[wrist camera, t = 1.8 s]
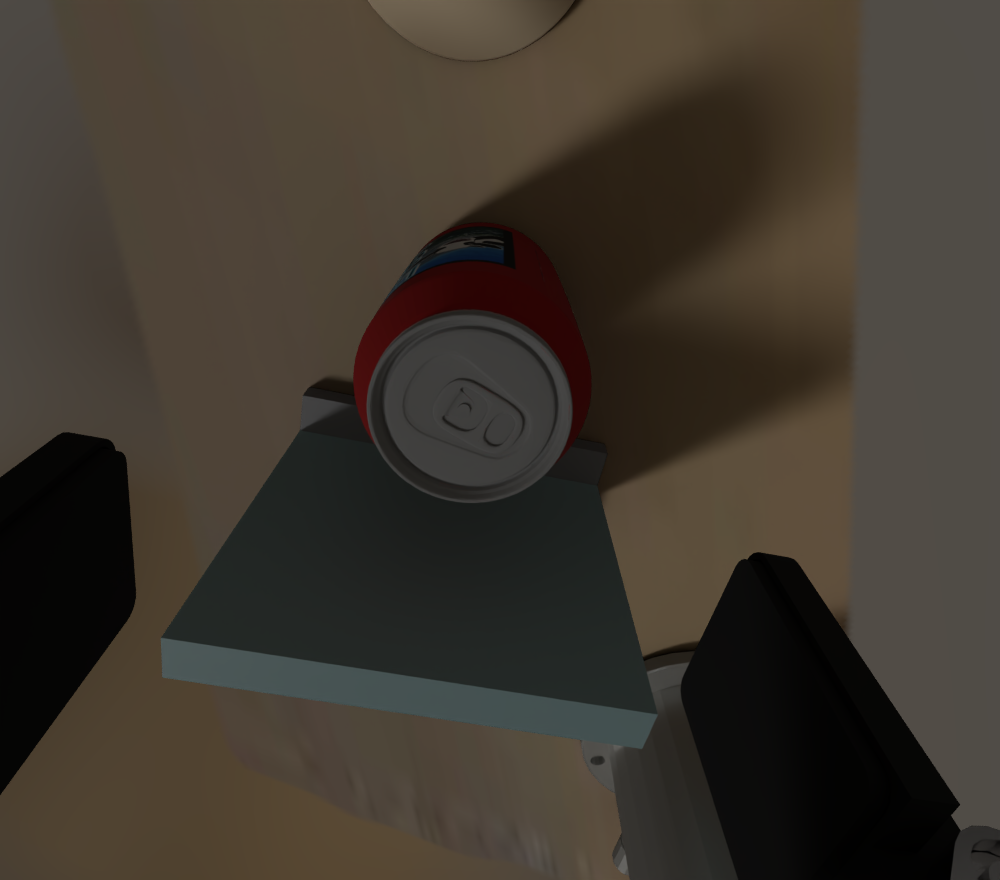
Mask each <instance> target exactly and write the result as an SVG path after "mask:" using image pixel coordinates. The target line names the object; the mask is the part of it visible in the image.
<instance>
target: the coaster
mask: <svg viewBox="0 0 1000 880" xmlns="http://www.w3.org/2000/svg"><path fill="white" fill-rule="evenodd" d="M368 1H369V3H370V4H371V6H372V7H373V8H374V9H375V10H376V12H377V13H378V14H379V15H380V16H381V17H382V18H383V19H384V21H385V22H386V23H387V24H388V25H390V26H391V27H392V28H393V29H394V30H395V31H396V32H398V33H399V34H400V35H401V36H402V37H404V38H405V39H407V40H408V41H410V42H411V43H413V44H414V45H416V46H417V47H419V48H421V49H423V50H425V51H427V52H430V53H432V54H435V55H438V56H441V57H444V58H447V59H453V60H459V61H487V60H494V59H498V58H501V57H505V56H508V55H511V54H513V53H516V52H518V51H520V50H522V49H524V48H526V47H528V46H529V45H531V44H532V43H534V42H535V41H537V40H538V39H540V38H541V37H542V36H544V35H545V34H546V33H547V32H548V31H549V30H551V29H552V28H553V27H554V26H555V25H556V24H557V23H558V21H559V20H560V19H561V18H562V17H563V16H564V15H565V14H566V12H567V11H568V10H569V8H570V7H571V5H572V4H573V2H574V1H575V0H368Z"/></svg>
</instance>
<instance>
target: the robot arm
mask: <svg viewBox="0 0 1000 880" xmlns="http://www.w3.org/2000/svg"><path fill="white" fill-rule="evenodd" d="M135 599H136V587H135V573H134V559H133V544H132V531H131V517H130V503H129V490H128V475H127V462H126V457H125V455H124V454H123V453H122V452H119V451H116V450H115V446H114V445H113V443H112V442H111V441H110V440H108V439H104V438H98V437H92V436H86V435H81V434H75V433H69V432H66V433H61V434H59V435H57V436H56V437H55V438H53V439H52V440H51V441H49V442H48V443H47V444H45V445H44V446H43V447H41V448H40V449H38V450H37V451H36V452H34V453H33V454H31V455H30V456H29V457H27V458H26V459H25V460H23V461H22V462H21V463H19V464H18V465H17V466H15V467H14V468H12V469H11V470H10V471H8V472H7V473H6V474H4V475H3V476H1V477H0V795H1V793H2V792H3V790H4V789H5V788H6V786H7V785H8V784H9V782H10V781H11V779H12V778H13V777H14V775H15V774H16V772H17V771H18V770H19V768H20V767H21V766H22V764H23V763H24V762H25V760H26V759H27V757H28V756H29V755H30V753H31V752H32V751H33V749H34V748H35V746H36V745H37V744H38V742H39V741H40V740H41V738H42V737H43V736H44V734H45V733H46V731H47V730H48V729H49V727H50V726H51V725H52V723H53V722H54V720H55V719H56V718H57V716H58V715H59V713H60V712H61V711H62V709H63V708H64V707H65V705H66V704H67V702H68V701H69V700H70V698H71V697H72V696H73V694H74V693H75V692H76V690H77V689H78V687H79V686H80V685H81V683H82V682H83V680H84V679H85V678H86V676H87V675H88V674H89V672H90V671H91V670H92V668H93V667H94V665H95V664H96V663H97V661H98V660H99V659H100V657H101V656H102V654H103V653H104V652H105V650H106V649H107V648H108V646H109V645H110V644H111V642H112V641H113V639H114V638H115V637H116V635H117V634H118V632H119V631H120V630H121V628H122V627H123V626H124V624H125V623H126V622H127V620H128V618H129V617H130V615H131V613H132V610H133V607H134V604H135ZM644 664H645V668H646V671H647V675H648V679H649V683H650V686H651V690H652V694H653V698H654V702H655V705H656V709H657V713H658V716H657V718H656V720H655V722H654V724H653V726H652V729H651V731H650V733H649V735H648V737H647V740H646V742H645V744H644V746H643V748H642V749H639V748H632V747H625V746H619V745H612V744H605V743H599V742H592V741H585V740H580V741H581V747H582V752H583V758H584V761H585V763H586V765H587V767H588V769H589V771H590V772H591V773H592V774H593V776H594V777H595V778H596V779H597V780H598V782H600V783H601V784H602V785H603V786H605V787H606V788H607V789H609V790H610V791H612V792H614V793H615V795H616V801H617V807H618V813H619V819H620V825H621V831H622V833H621V835H620V837H619V839H618V842H617V844H616V846H615V848H614V850H613V853H612V856H613V862H614V864H615V865H616V867H617V869H618V870H619V871H621V872H622V873H623V874H625V875H629V878H630V880H1000V830H997V829H994V828H991V827H988V826H970V827H968V828H966V829H964V830H962V831H961V830H960V829H959V827H958V826H957V824H956V823H955V821H954V820H953V818H952V817H951V814H953V812H954V811H955V810H956V809H957V808H958V807H959V806H960V804H959V802H958V801H957V799H956V798H955V796H954V795H953V793H952V792H951V790H950V789H949V788H948V786H947V785H946V783H945V782H944V780H943V779H942V777H941V776H940V774H939V773H938V771H937V770H936V768H935V767H934V765H933V764H932V762H931V761H930V759H929V758H928V756H927V755H926V753H925V752H924V750H923V749H922V747H921V746H920V744H919V743H918V741H917V740H916V738H915V737H914V735H913V734H912V732H911V731H910V729H909V728H908V726H907V725H906V723H905V722H904V720H903V719H902V717H901V716H900V714H899V713H898V711H897V710H896V708H895V707H894V706H893V704H892V703H891V701H890V700H889V698H888V697H887V695H886V694H885V692H884V691H883V689H882V688H881V686H880V685H879V683H878V682H877V680H876V679H875V677H874V676H873V674H872V673H871V671H870V670H869V668H868V667H867V665H866V664H865V662H864V661H863V659H862V658H861V656H860V655H859V653H858V652H857V650H856V649H855V647H854V646H853V644H852V643H851V641H850V640H849V638H848V637H847V635H846V634H845V632H844V631H843V629H842V628H841V626H840V625H839V623H838V622H837V621H836V619H835V618H834V616H833V615H832V613H831V612H830V610H829V609H828V607H827V606H826V604H825V603H824V601H823V600H822V598H821V597H820V595H819V594H818V592H817V591H816V589H815V588H814V586H813V585H812V583H811V582H810V580H809V579H808V577H807V576H806V574H805V573H804V571H803V570H802V568H801V567H800V565H799V564H798V563H797V562H796V561H795V560H794V559H792V558H789V557H783V556H777V555H772V554H766V553H760V552H757V553H753V554H752V555H751V556H750V557H749V558H748V560H747V559H743V560H741V561H739V562H738V564H737V565H736V567H735V569H734V571H733V573H732V575H731V578H730V580H729V582H728V584H727V586H726V588H725V590H724V592H723V594H722V596H721V598H720V600H719V602H718V605H717V607H716V609H715V611H714V613H713V615H712V617H711V619H710V621H709V623H708V625H707V627H706V629H705V632H704V634H703V636H702V638H701V640H700V642H699V644H698V646H697V648H696V650H695V651H690V652H679V653H671V654H667V655H662V656H658V657H654V658H651V659H648V660H645V661H644Z"/></svg>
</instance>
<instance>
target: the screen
mask: <svg viewBox="0 0 1000 880" xmlns="http://www.w3.org/2000/svg"><path fill="white" fill-rule="evenodd" d="M607 454H608V453H607V450H606V447H605V444H602V443H597V442H591V441H586V440H581V439H575V441H574V443H573V444H572V445H571V447H570V448H569V450H568V451H567V452H566V453H565V454H564V456H563V457H562V458H561V459H560V460H559V461H558V462H557V463H556V464H554V465H553V466H552V467H551V469H550V470H549V471H548V472H547V473H546V474H545V475H544V476H543V477H542V478H540V479H539V480H538V481H537V482H535V483H534V484H533V485H531V486H530V487H528V488H526V489H524V490H523V491H521V492H519V493H517V494H514V495H512V496H509V497H506V498H503V499H499V500H495V501H489V502H481V503H463V502H455V501H449V500H445V499H441V498H438V497H435V496H432V495H430V494H427V493H425V492H423V491H421V490H419V489H417V488H415V487H414V486H412V485H411V484H409V483H408V482H406V481H405V480H404V479H402V478H401V477H400V476H399V475H398V474H397V473H396V472H395V471H393V469H392V468H391V467H390V466H389V465H388V464H387V462H386V461H385V460H384V458H383V457H382V455H381V454H380V452H379V450H378V448H377V447H376V445H375V444H374V442H373V441H372V439H371V438H370V436H369V435H368V433H367V431H366V429H365V427H364V425H363V422H362V420H361V417H360V415H359V412H358V408H357V405H356V400H355V396H353V395H348V394H342V393H337V392H332V391H327V390H322V389H316V388H311V387H309V388H308V389H307V391H306V392H305V393H304V395H303V401H302V414H301V427H300V431H299V433H298V434H297V436H296V437H295V439H294V440H293V442H292V443H291V445H290V446H289V448H288V449H287V451H286V452H285V454H284V455H283V457H282V458H281V460H280V461H279V463H278V464H277V466H276V467H275V469H274V470H273V472H272V473H271V475H270V476H269V478H268V479H267V481H266V482H265V484H264V485H263V487H262V488H261V490H260V491H259V493H258V494H257V496H256V497H255V498H254V500H253V501H252V503H251V504H250V506H249V507H248V509H247V510H246V512H245V513H244V515H243V516H242V518H241V519H240V521H239V522H238V524H237V525H236V527H235V528H234V530H233V531H232V533H231V534H230V536H229V537H228V539H227V540H226V542H225V543H224V545H223V546H222V548H221V549H220V551H219V552H218V554H217V555H216V557H215V558H214V560H213V561H212V563H211V564H210V566H209V567H208V569H207V570H206V572H205V573H204V575H203V576H202V577H201V579H200V580H199V582H198V583H197V585H196V586H195V588H194V590H193V591H192V592H191V594H190V595H189V597H188V599H187V600H186V602H185V603H184V605H183V606H182V607H181V609H180V610H179V612H178V613H177V615H176V616H175V618H174V619H173V621H172V622H171V624H170V625H169V627H168V628H167V630H166V631H165V633H164V634H163V636H162V637H161V650H162V676H163V678H169V679H177V680H183V681H190V682H196V683H203V684H210V685H216V686H223V687H230V688H236V689H243V690H250V691H257V692H263V693H270V694H277V695H283V696H290V697H297V698H304V699H310V700H317V701H324V702H330V703H337V704H344V705H350V706H357V707H364V708H371V709H377V710H384V711H391V712H397V713H404V714H411V715H418V716H424V717H431V718H438V719H444V720H451V721H458V722H464V723H471V724H478V725H485V726H491V727H498V728H505V729H511V730H518V731H525V732H532V733H538V734H545V735H552V736H558V737H565V738H572V739H578V740H585V741H592V742H599V743H605V744H612V745H619V746H625V747H632V748H639V749H642V748H643V746H644V744H645V742H646V740H647V737H648V735H649V733H650V731H651V729H652V726H653V724H654V722H655V720H656V718H657V716H658V713H657V709H656V705H655V702H654V698H653V694H652V690H651V686H650V683H649V679H648V675H647V671H646V668H645V664H644V660H643V656H642V653H641V649H640V645H639V641H638V637H637V634H636V630H635V626H634V622H633V619H632V615H631V611H630V607H629V603H628V600H627V596H626V592H625V588H624V585H623V581H622V577H621V573H620V570H619V566H618V562H617V558H616V554H615V551H614V547H613V543H612V539H611V536H610V532H609V528H608V524H607V520H606V517H605V513H604V509H603V505H602V502H601V498H600V494H599V490H598V487H597V485H598V482H599V479H600V476H601V473H602V470H603V467H604V463H605V460H606V457H607Z"/></svg>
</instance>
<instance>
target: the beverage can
mask: <svg viewBox="0 0 1000 880" xmlns="http://www.w3.org/2000/svg"><path fill="white" fill-rule="evenodd" d="M353 381H354V394H355V400H356V405H357V408H358V412H359V415H360V417H361V420H362V422H363V425H364V427H365V429H366V431H367V433H368V435H369V436H370V438H371V439H372V441H373V442H374V444H375V445H376V447H377V448H378V450H379V452H380V454H381V455H382V457H383V458H384V460H385V461H386V462H387V464H388V465H389V466H390V467H391V468H392V469H393V471H395V472H396V473H397V474H398V475H399V476H400V477H401V478H402V479H404V480H405V481H406V482H408V483H409V484H411V485H412V486H414V487H415V488H417V489H419V490H421V491H423V492H425V493H427V494H430V495H432V496H435V497H438V498H441V499H445V500H449V501H455V502H463V503H481V502H489V501H495V500H499V499H503V498H506V497H509V496H512V495H514V494H517V493H519V492H521V491H523V490H524V489H526V488H528V487H530V486H531V485H533V484H534V483H535V482H537V481H538V480H539V479H540V478H542V477H543V476H544V475H545V474H546V473H547V472H548V471H549V470H550V469H551V467H552V466H553V465H554V464H556V463H557V462H558V461H559V460H560V459H561V458H562V457H563V456H564V454H565V453H566V452H567V451H568V450H569V448H570V447H571V445H572V444H573V443H574V441H575V439H576V438H577V436H578V434H579V433H580V430H581V428H582V426H583V424H584V421H585V419H586V416H587V412H588V409H589V404H590V398H591V370H590V364H589V360H588V356H587V353H586V349H585V346H584V343H583V340H582V337H581V335H580V332H579V329H578V326H577V323H576V320H575V317H574V315H573V312H572V309H571V307H570V304H569V301H568V299H567V297H566V294H565V292H564V289H563V287H562V284H561V282H560V280H559V277H558V275H557V273H556V271H555V269H554V267H553V265H552V263H551V261H550V260H549V258H548V257H547V255H546V254H545V253H544V252H543V250H542V249H541V248H540V247H539V246H538V245H537V244H536V243H535V242H533V241H532V240H531V239H530V238H528V237H527V236H525V235H524V234H522V233H520V232H518V231H516V230H514V229H512V228H509V227H506V226H503V225H499V224H494V223H469V224H463V225H459V226H456V227H453V228H451V229H448V230H446V231H444V232H442V233H441V234H439V235H437V236H436V237H435V238H433V239H432V240H431V241H429V242H428V243H427V244H426V245H425V246H424V247H423V248H422V249H421V250H420V252H419V253H418V254H417V256H416V257H415V258H414V259H413V261H412V262H411V263H410V265H409V266H408V267H407V269H406V270H405V271H404V273H403V274H402V276H401V277H400V278H399V280H398V281H397V283H396V284H395V286H394V287H393V289H392V290H391V291H390V293H389V294H388V296H387V297H386V299H385V300H384V302H383V304H382V305H381V307H380V308H379V310H378V312H377V313H376V315H375V316H374V318H373V319H372V321H371V323H370V324H369V326H368V327H367V329H366V331H365V333H364V335H363V337H362V339H361V342H360V345H359V347H358V351H357V355H356V359H355V365H354V375H353Z"/></svg>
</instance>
